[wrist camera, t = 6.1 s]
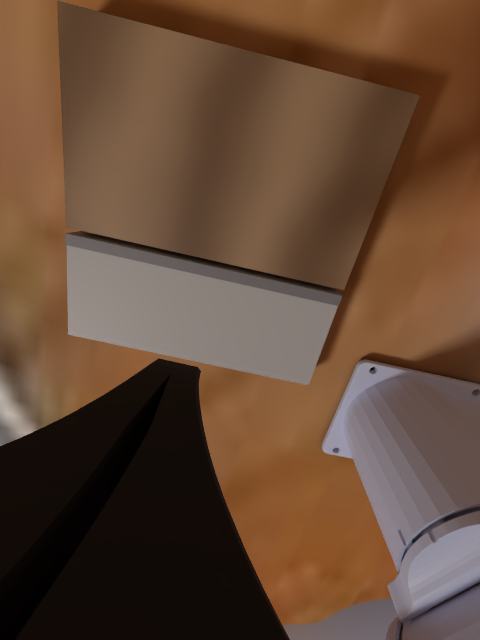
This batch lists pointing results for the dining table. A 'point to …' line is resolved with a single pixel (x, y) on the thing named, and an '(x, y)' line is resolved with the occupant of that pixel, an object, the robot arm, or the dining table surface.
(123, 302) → the grey board
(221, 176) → the walnut plank
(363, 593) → the dining table surface
